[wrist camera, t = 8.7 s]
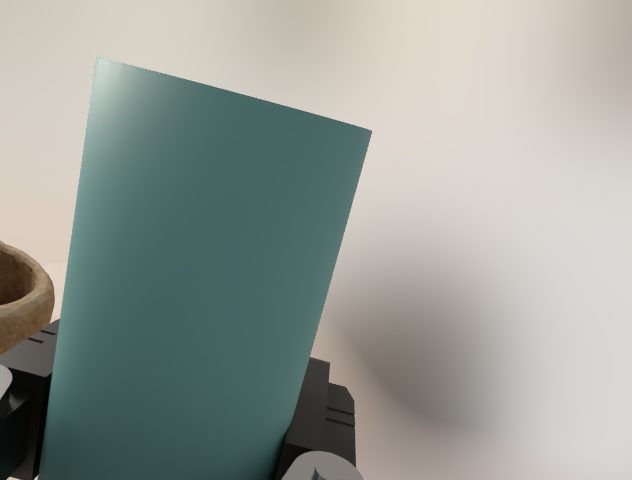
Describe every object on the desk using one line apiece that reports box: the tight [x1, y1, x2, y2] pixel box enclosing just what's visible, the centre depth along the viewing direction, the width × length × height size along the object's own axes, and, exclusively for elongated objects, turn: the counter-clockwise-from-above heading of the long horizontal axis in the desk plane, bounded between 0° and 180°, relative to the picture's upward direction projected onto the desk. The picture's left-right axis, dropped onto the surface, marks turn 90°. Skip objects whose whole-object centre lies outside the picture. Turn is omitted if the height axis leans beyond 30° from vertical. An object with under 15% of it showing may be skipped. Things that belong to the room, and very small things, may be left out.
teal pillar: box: [38, 58, 372, 480], centre depth 9 cm, size 4×4×14 cm
